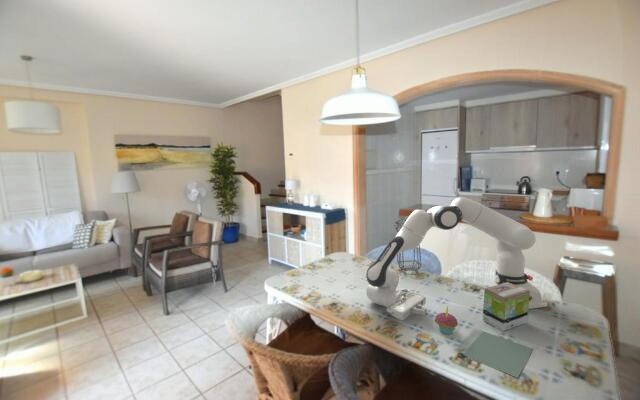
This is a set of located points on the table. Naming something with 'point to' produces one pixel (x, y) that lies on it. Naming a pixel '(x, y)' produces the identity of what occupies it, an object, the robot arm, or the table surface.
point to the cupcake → (446, 322)
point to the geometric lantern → (402, 252)
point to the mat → (499, 353)
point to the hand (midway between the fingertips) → (425, 311)
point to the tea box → (506, 305)
